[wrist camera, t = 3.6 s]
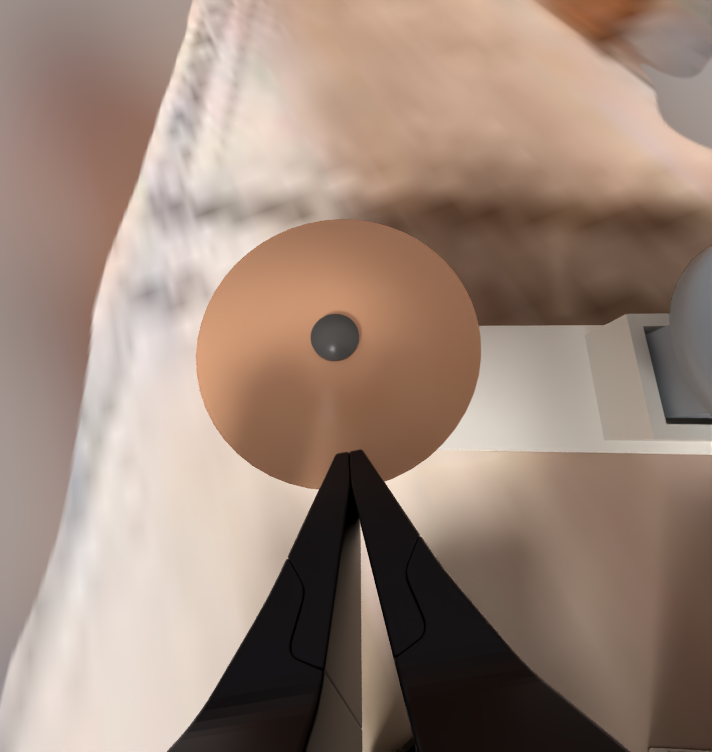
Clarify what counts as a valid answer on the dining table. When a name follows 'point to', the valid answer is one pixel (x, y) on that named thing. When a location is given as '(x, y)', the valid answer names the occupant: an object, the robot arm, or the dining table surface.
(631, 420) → the key console
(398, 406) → the brown round domed piece
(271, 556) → the dining table surface
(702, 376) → the two dot key
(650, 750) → the coffee box
